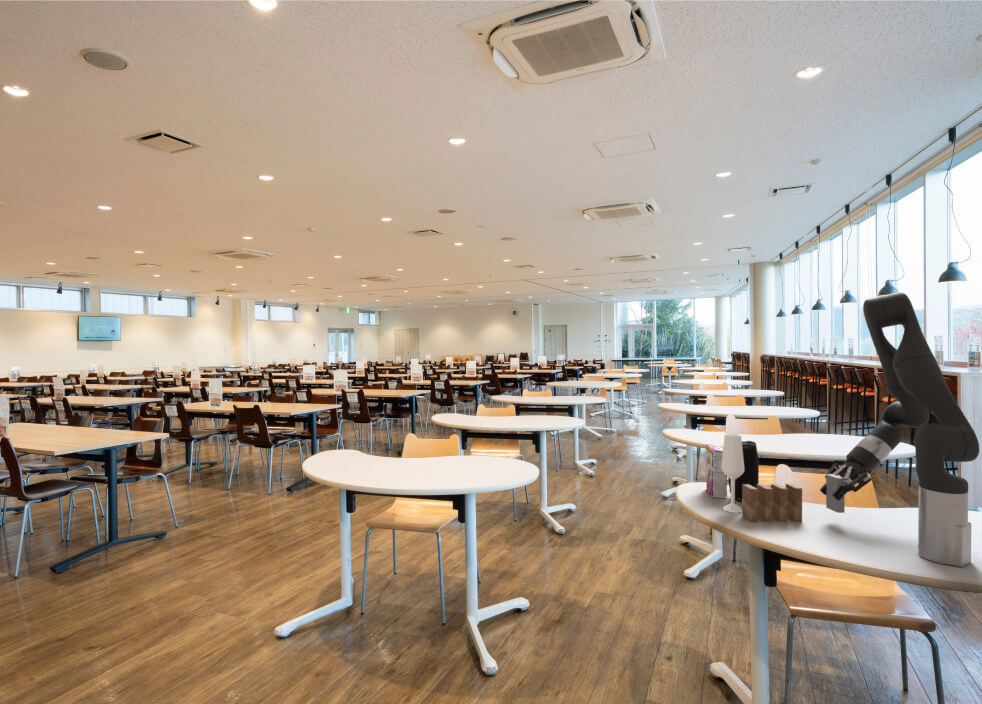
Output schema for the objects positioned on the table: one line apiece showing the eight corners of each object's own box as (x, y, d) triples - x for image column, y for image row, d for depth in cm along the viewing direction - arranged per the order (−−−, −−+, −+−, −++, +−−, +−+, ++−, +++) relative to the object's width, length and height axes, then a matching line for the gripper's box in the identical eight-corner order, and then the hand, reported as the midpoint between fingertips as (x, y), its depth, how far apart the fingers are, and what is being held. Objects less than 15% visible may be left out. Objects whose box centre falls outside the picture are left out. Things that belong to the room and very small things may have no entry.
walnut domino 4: (791, 515, 160) (792, 483, 160) (802, 521, 155) (802, 488, 155) (785, 516, 160) (785, 483, 160) (795, 521, 155) (795, 488, 155)
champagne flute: (716, 508, 168) (716, 434, 168) (730, 504, 172) (730, 432, 171) (735, 514, 162) (735, 437, 162) (749, 510, 166) (749, 435, 165)
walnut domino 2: (763, 516, 160) (763, 484, 160) (772, 522, 155) (772, 488, 155) (756, 516, 160) (756, 484, 160) (765, 522, 155) (765, 488, 155)
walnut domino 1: (748, 516, 160) (748, 484, 160) (757, 522, 155) (757, 488, 155) (742, 516, 160) (742, 484, 160) (750, 522, 155) (750, 488, 155)
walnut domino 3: (777, 516, 160) (777, 483, 160) (787, 521, 155) (787, 488, 155) (771, 516, 160) (771, 483, 160) (780, 521, 155) (780, 488, 155)
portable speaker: (723, 496, 181) (723, 440, 180) (747, 494, 183) (747, 439, 182) (739, 503, 172) (739, 444, 172) (764, 502, 174) (764, 443, 174)
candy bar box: (705, 489, 190) (705, 444, 190) (719, 489, 189) (719, 444, 189) (711, 498, 179) (711, 450, 179) (727, 498, 178) (727, 451, 178)
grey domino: (832, 507, 156) (832, 474, 156) (844, 512, 151) (844, 478, 151) (826, 507, 156) (825, 474, 156) (837, 512, 151) (837, 478, 151)
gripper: (842, 441, 161) (804, 480, 161) (878, 449, 147) (836, 492, 146) (860, 458, 161) (821, 497, 161) (897, 468, 147) (855, 511, 147)
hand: (829, 495), depth 154 cm, fingers closed on grey domino, 5 cm apart
